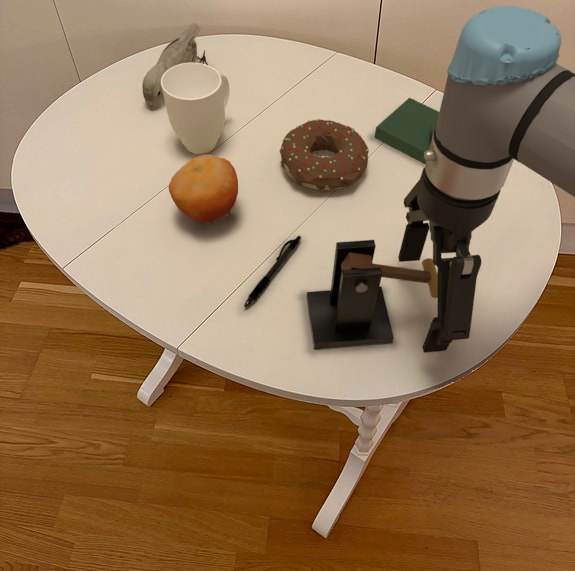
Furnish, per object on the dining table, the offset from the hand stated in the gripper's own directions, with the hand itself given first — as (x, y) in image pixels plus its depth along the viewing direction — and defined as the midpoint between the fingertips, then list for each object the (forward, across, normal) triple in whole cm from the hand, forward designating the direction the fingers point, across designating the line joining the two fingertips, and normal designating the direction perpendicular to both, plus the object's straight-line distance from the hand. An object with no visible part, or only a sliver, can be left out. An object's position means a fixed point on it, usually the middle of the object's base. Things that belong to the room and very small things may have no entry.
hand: (420, 301), depth 74 cm
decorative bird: (+4, -52, -31) cm, 61 cm away
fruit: (+4, -21, -26) cm, 34 cm away
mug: (+4, -38, -26) cm, 46 cm away
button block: (+4, -34, +10) cm, 35 cm away
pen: (+4, -9, -18) cm, 20 cm away
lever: (-4, -1, -5) cm, 6 cm away
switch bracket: (+4, -1, -9) cm, 10 cm away
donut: (+4, -29, -8) cm, 30 cm away
